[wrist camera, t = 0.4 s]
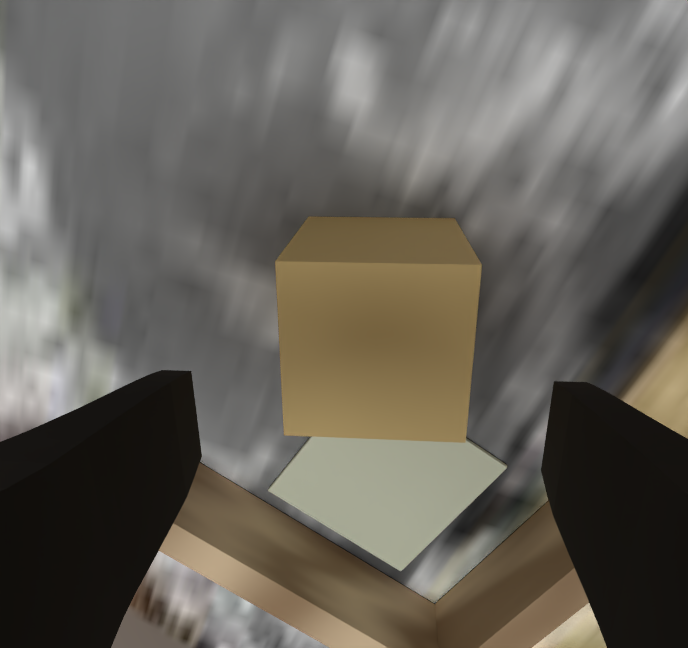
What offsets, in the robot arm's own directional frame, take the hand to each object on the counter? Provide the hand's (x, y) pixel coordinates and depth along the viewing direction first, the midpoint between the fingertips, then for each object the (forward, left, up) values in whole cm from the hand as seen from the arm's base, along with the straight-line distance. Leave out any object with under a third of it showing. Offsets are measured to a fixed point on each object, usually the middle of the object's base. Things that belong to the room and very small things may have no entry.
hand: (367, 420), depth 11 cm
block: (0, 0, -9) cm, 9 cm away
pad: (-5, +7, -9) cm, 13 cm away
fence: (-4, +7, -9) cm, 12 cm away
